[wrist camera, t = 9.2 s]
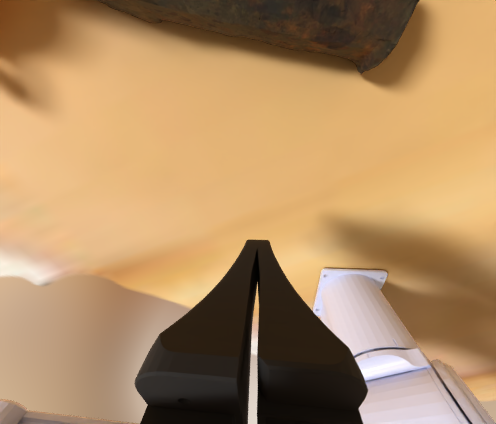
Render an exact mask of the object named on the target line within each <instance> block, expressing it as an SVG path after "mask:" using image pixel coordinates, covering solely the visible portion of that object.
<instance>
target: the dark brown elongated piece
mask: <svg viewBox="0 0 496 424" xmlns="http://www.w3.org/2000/svg"><path fill="white" fill-rule="evenodd" d="M97 1H99V2H102V3H105V4H107V5H108V6H109V7H111V8H113V9H116V10H119V11H123V12H126V13H129V14H131V15H132V16H135V17H137V18H140V19H143V20H145V21H148V22H150V23H161V22H162V20H166V21H171V22H175V23H179V24H184V25H188V26H192V27H195V28H200V29H205V30H210V31H215V32H218V33H221V34H224V35H228V36H236V37H246V38H250V39H254V40H261V41H263V42H266V43H268V44H274V45H277V46H280V47H284V48H288V49H292V50H305V51H309V52H314V51H316V52H320V53H324V54H331V55H336V56H339V57H343V58H347V59H350V60H351V61H353V62H354V63H355V64H356V66H357V70H358V72H359V73H360V74H362V73H363V72H364V71H368V70H370V69H372V68H374V67H376V66H378V65H379V64H380V63H381V62H382V61H383V60H384V59H385V58H387V56H388V55H389V54H390V53H391V51H392V50H393V49H394V48H395V46H396V45H397V43H398V41H399V39H400V37H401V35H402V33H403V31H404V29H405V27H406V25H407V23H408V21H409V19H410V17H411V15H412V13H413V11H414V9H415V7H416V5H417V3H418V2H419V0H97Z"/></svg>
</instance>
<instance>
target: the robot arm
mask: <svg viewBox="0 0 496 424" xmlns="http://www.w3.org/2000/svg"><path fill="white" fill-rule="evenodd" d="M387 276H388V273H387V272H386V271H384V270H359V269H332V268H324V269H322V271H321V275H320V280H319V284H318V289H317V294H316V298H315V303H314V307H313V311H312V310H311V309H310V308H309V307H308V305H307V304H306V303H305V302H304V301H303V300H302V298H301V297H300V296H299V295H298V293H297V292H296V291H295V289H294V288H293V286H292V285H291V284H290V282H289V281H288V279H287V278H286V276H285V274H284V273H283V271H282V269H281V267H280V266H279V264H278V262H277V260H276V258H275V256H274V253H273V251H272V248H271V245H270V242H269V241H268V240H247V241H246V243H245V246H244V248H243V249H242V251H241V253H240V255H239V256H238V258H237V259H236V261H235V263H234V264H233V265H232V267H231V268H230V269H229V271H228V272H227V274H226V275H225V276H224V277H223V279H222V280H221V281H220V282H219V283H218V284H217V285H216V287H215V288H214V289H213V290H212V291H211V292H210V293H209V294H208V295H207V296H206V297H205V298H204V299H203V300H202V301H201V302H199V303H198V304H197V305H196V306H195V307H194V308H192V309H191V310H190V311H189V312H188V313H187V314H186V315H184V316H183V317H182V318H180V319H179V320H178V321H177V322H175V323H174V324H173V325H171V326H170V327H169V328H167V329H166V330H165V331H163V332H162V333H160V335H159V336H158V338H157V339H156V341H155V343H154V344H153V346H152V348H151V349H150V351H149V353H148V355H147V357H146V359H145V361H144V363H143V365H142V367H141V369H140V371H139V373H138V375H137V377H136V379H135V387H136V389H137V391H138V392H139V394H140V395H141V396H142V397H143V399H144V400H145V402H146V403H147V404H148V406H147V408H146V411H145V413H144V416H143V418H142V421H141V423H140V424H248V401H249V376H250V355H251V334H252V319H253V311H254V304H255V296H256V289H257V281H258V296H259V329H258V355H257V356H258V401H257V424H496V423H495V422H494V421H493V419H492V418H491V417H490V415H489V414H488V413H487V411H486V410H485V409H484V407H483V406H482V405H481V404H480V402H479V401H478V400H477V398H476V397H475V396H474V394H473V393H472V392H471V390H470V389H469V388H468V387H467V385H466V384H465V383H464V381H463V380H462V379H461V377H460V376H459V375H458V374H457V372H456V371H455V370H454V368H453V367H451V366H449V365H447V364H445V363H442V362H441V361H440V360H439V359H436V360H433V361H431V362H432V363H431V362H430V360H429V359H428V358H427V357H426V356H425V355H424V353H423V352H422V351H421V349H420V348H419V346H418V345H417V343H416V342H415V340H414V339H413V337H412V336H411V334H410V333H409V332H408V330H407V329H406V327H405V326H404V324H403V323H402V321H401V320H400V318H399V317H398V315H397V314H396V312H395V311H394V310H393V308H392V307H391V305H390V304H389V302H388V301H387V299H386V298H385V296H384V295H383V293H382V292H381V289H382V287H383V284H384V282H385V280H386V278H387ZM317 316H320V318H321V320H320V319H319V318H318V317H317ZM0 424H137V423H129V422H121V421H112V420H104V419H95V418H87V417H78V416H70V415H61V414H53V413H45V412H36V411H28V410H27V408H26V407H24V406H23V405H21V404H19V403H17V402H14V401H11V400H5V399H0Z"/></svg>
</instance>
